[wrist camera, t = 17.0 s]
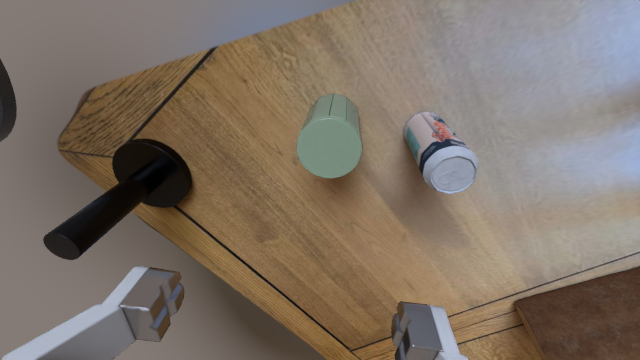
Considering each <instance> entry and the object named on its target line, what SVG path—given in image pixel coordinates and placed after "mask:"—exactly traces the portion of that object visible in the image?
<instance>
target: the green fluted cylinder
mask: <svg viewBox="0 0 640 360" xmlns="http://www.w3.org/2000/svg"><path fill="white" fill-rule="evenodd" d="M362 147H363V146H362V137H361V128H360V119H359V115H358V110H357V107H356V106H355V105H354V104H353V103H352V101H351V100H350V99H349V98H348V97H345V96H342V95H338V94H334V95H333V94H329V95H326V96H322V97H320V98H319V99H318V100H317V101H316V102H315V103H314V104H313V105H312V106H311V108H310V110H309V112H308V115H307V117H306V119H305V122H304V124H303V126H302V128H301V131H300V133H299V138H298V141H297V154H298V157H299V160H300V162H301V163H302V165H303V166H304V167H305V168H306V169H307V170H308V171H309V172H311V173H312V174H314V175H316V176H319V177H322V178H338V177H341V176H344V175H346V174H348V173H349V172H350V171H352V170H353V169H354V168H355V167H356V165H357V164H358V162H359V160H360V158H361V153H362Z"/></svg>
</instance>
